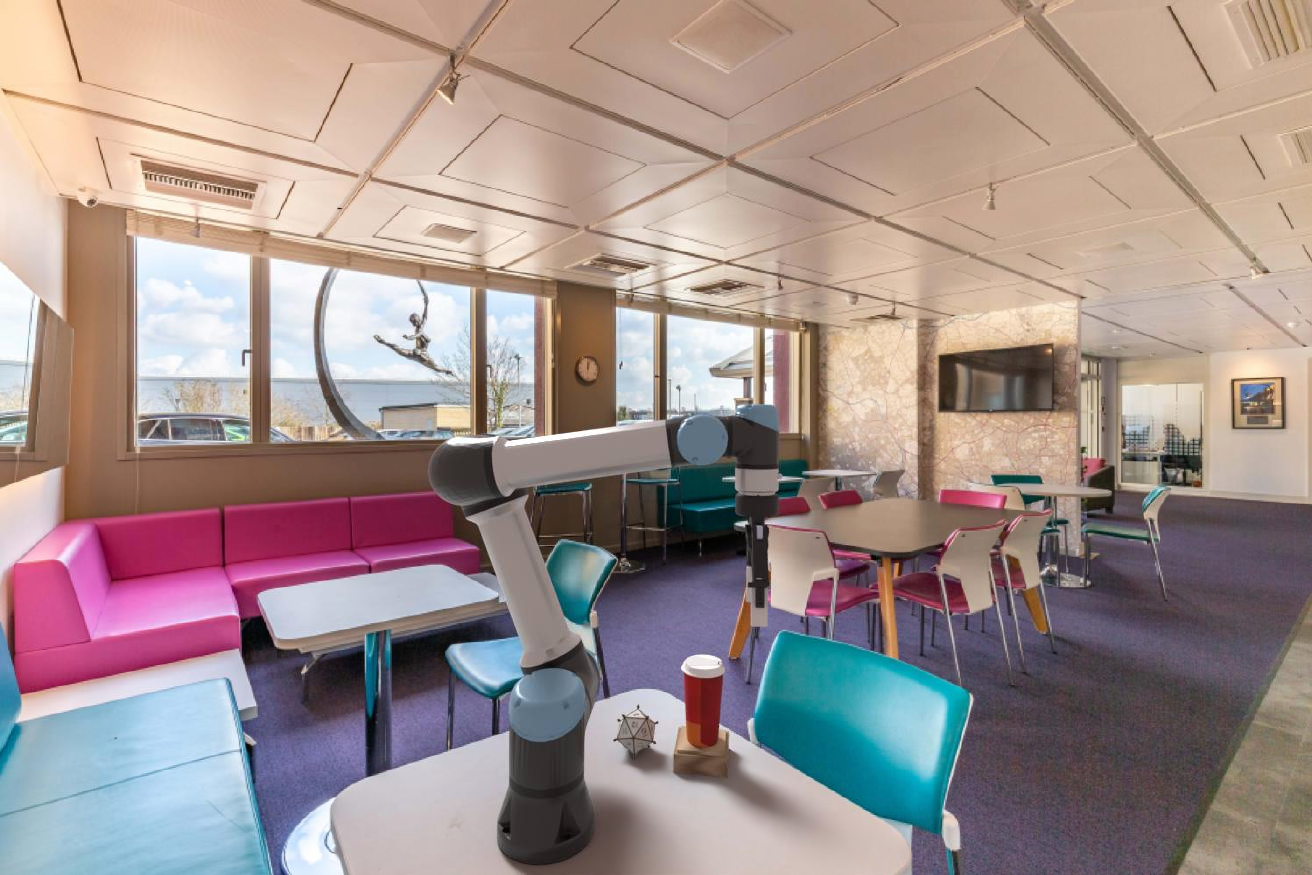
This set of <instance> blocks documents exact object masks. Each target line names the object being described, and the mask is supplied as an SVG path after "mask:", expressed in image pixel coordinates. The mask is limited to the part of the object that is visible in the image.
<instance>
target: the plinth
mask: <svg viewBox="0 0 1312 875" xmlns="http://www.w3.org/2000/svg"><path fill="white" fill-rule="evenodd" d="M674 744H675V745H674V748H673V749H674V750H673V756H672V757H673V759H672V760H673V764H672V765H673V766H672V768H673V769H672V773H678V774H686V775H687V774H688V775H689V774H690V775H698V776H708V777H709V776H710V777H721V778H729V755H730V750H729V748H730V731H729V730H727V729H724V728H723V729H721V728H719V735H718V742H717V743H716V744H715V745H714V746H711V747H697V746H694V745H692V744H690V743H689V742H688V740H687V733H686V725H684V726H683V725H681V726H678V729H677V734H676V740H675V743H674Z"/></svg>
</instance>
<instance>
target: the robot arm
mask: <svg viewBox="0 0 1312 875" xmlns="http://www.w3.org/2000/svg"><path fill="white" fill-rule="evenodd" d="M779 415H780V414H779V409H778V408H777V406H776V405H773V404H757V403H756V404H753V403H752V404H738V405H737V406H736V408H735V412H734V415H724V416H723V415H713V414H709V413H697V414H693V415H692V414H691V415H688V414H683V415H673V416H670V417H669V419H659V420H651V421H644V422H637V423H631V424H623V425H616V426H615V425H614V426H609V427H602V428H601V427H600V428H594V429H593V428H592V429H587V430H581V431H572V432H566V433H558V434H551V435H549V434H548V435H544V436H543V435H542V436H537V437H530V438H522V439H514V440H509V439H507V438H506V437H504V436H502V435H497V434H493V433H480V434H472V435H467V434H466V435H458V436H454V437H450V438H448V439H446V440H445V441H444V442H442V443H441V444H440V445H438V446H437V448H436V449H435V450H434V451H433V453H432V454H431V458H429V462H428V467H427V468H428V469H427V474H428V476H427V477H428V481H429V483H430V486H431V488H432V490H433V491H434V493H435V494H436V495H437V496H438V497H440V499H442V500H443V501H445V502H447V503H449V504H452V505H456V506H460V507H461V510H462V513H463V514H464V515H463V516H464V518H465V519H466V520H467V521H469V522H472V523H474V524H476V525H477V526H478V529H479V532H480V534H481V538H482V541H483V543H484V546H485V548H486V551H487V555H488V557H489V559H490V562H491V565H492V567H493V570H494V573H495V575H496V578H497V581H498V584H499V586H500V587H499V588H500V589H501V591H502V595H503V597H504V599H505V603H506V605H507V608H508V611H509V614H510V616H511V620H512V622H513V624H514V627H515V629H516V633H517V635H518V638H519V641H520V644H521V646H522V649H523V651H522V652H523V653H522V655H521V657H520V659H519V662H518V664H519V667H520V670H521V672H522V676H523V677H522V678H520V679H519V680H518V681H517V682H516V683H515V684H514V686H513V688H512V690H511V693H510V697H509V698H510V699H509V703H508V707H507V708H508V713H507V715H508V721H509V722H508V723H509V725H508V727H509V728H508V729H509V730H508V732H509V733H508V734H509V735H508V737H509V738H508V742H509V744H508V745H509V746H508V750H509V751H508V752H509V753H508V774H509V775H508V787H507V790H506V793H505V796H504V799H503V801H502V806H501V808H500V811H499V814H498V817H497V821H496V822H497V823H496V840H497V845H498V847H499V848H500V851H502V853H504V854H505V855H506V857H509V858H510V859H512V860H515V861H517V862H520V863H524V864H529V865H530V864H531V865H546V864H553V863H557V862H561V861H563V860H566V859H569V858H571V857H572V856H575V855H576V854H577V853H580V852H581V851H582V850H583V849H584V848H585V847H587V845H588V844H589V843H590V842H591V840H592V839H593V836H594V833H595V827H596V826H595V825H596V824H595V823H596V820H595V817H596V815H595V807H594V804H593V801H592V798H591V795H590V793H589V789H588V786H587V782H586V781H585V737H586V730H587V728H588V724H589V720H590V717H591V716H592V715H591V714H592V712H593V709H594V707H595V704H596V701H597V698H598V696H599V693H600V688H601V671H600V666H599V663H598V661H597V659H596V657H595V656H594V655H593V653H592V652H591V651H590V650H588V649H587V648H586V647H585V645H584V641H583V639H582V636H581V635H580V634H579V633H576V632H574V631H572V630H570V628H569V625H568V623H567V620H566V617H565V615H564V612H563V608H562V607H561V604H560V601H559V599H558V595H557V592H556V590H555V587H554V585H553V583H552V580H551V577H550V574H549V571H548V568H547V566H546V563H545V560H544V558H543V555H542V552H541V550H540V547H539V544H538V542H537V538H536V536H535V533H534V530H533V528H532V525H531V523H530V520H529V517H528V514H527V512H526V509H525V506H526V502H527V500H528V498H529V492H528V489H527V488H530V487H537V486H544V485H551V484H552V485H553V484H559V483H560V484H561V483H566V482H567V483H569V482H574V481H581V480H588V479H595V478H602V477H603V478H604V477H609V476H610V477H611V476H616V475H618V476H619V475H624V474H625V475H626V474H631V473H633V474H634V473H639V472H646V471H647V472H648V471H654V470H662V469H667V468H674V467H675V468H679V467H685V466H693V465H697V466H707V465H712V464H714V463H716V462H717V461H719V460H720V459H727V460H728V459H730V460H731V459H735V469H734V472H735V473H734V474H735V475H734V488H735V490H736V491H737V493H736V495H735V496H734V497H735V501H734V502H735V503H734V504H735V505H734V506H735V508H734V512H735V514H736V515H737V516H739V517H745V518H746V520H747V524H744V533H745V543H746V555H745V559H746V561H745V562H746V565H747V566H746V575H745V576H746V577H745V578H746V580H745V581H746V583H745V584H746V586H745V587H746V592H745V593H746V594H745V595H746V598H745V601H746V603H750V627H754V628H755V627H757V628H758V627H761V628H768V626H769V624H768V623H769V622H768V621H769V618H768V617H769V611H768V610H769V587H770V578H769V577H770V576H769V551H768V550H769V545H770V544H769V537H770V527H769V526H768V524H765V523H766V522H765V519H766V518H774V517H776V516H778V515H779V513H780V511H779V510H780V506H779V505H780V501H779V500H780V496H779V495H778V494H777V493H776V492H778V491H779V486H780V485H779V484H780V483H779V481H778V480H782V479H783V474H781V473H779V472H780V471H779V468H780V433H781V430H780V417H779Z"/></svg>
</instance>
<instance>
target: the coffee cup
mask: <svg viewBox="0 0 1312 875" xmlns="http://www.w3.org/2000/svg"><path fill="white" fill-rule="evenodd" d="M680 669H681V671H682V672H683V684H684V685H683V686H684V687H683V688H684V689H683V690H684V707H685V710H684V712H685V726H686V733H687V740H688V742H689V743H690V744H692V745H694V746H697V747H711V746H714V745H715V744H716V743H717V742H718V735H719V729H720V721H721V710H722V707H721V706H722V695H723V684H724V674H725V672H726V669H725V667H724V663H723V660H722V659H720V658H719V657H717V656H714V655H710V654H695V655H691V656H688V657H687V658H685V660H684V661H683V663H682V665H681V667H680Z"/></svg>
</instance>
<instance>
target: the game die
mask: <svg viewBox="0 0 1312 875" xmlns="http://www.w3.org/2000/svg"><path fill="white" fill-rule="evenodd" d="M621 717H622V718H621V719H620V718H617V719H616V721H617V722H618V723H619V724H618V730H617V735H616V738H613V740H612V742H617V741H618V743H620V744H621V745H622V746H623V747H624V748H625V749H627V750H628V751H629V752H630V753H631V754H632V758H633V760H635V759H636V755H637V754H638V753H639V752H641V751H642V750H643V749H645V748H647V749H651V745H652V744H653V745H657V742H656V740H654V737H655V730H656V729H655V728H656V725H658V724H659V723H660V721H658V720H657V721H654V720H653V719H652V718H650V715H647V714H645V713H644V712H643V711H642V710H641V709H640V705H639V703H638V704H637V706H636V709H635V710H633V711H631V712H630V713H628V714H627V715H626V714H625V713H624V714H621Z"/></svg>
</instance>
